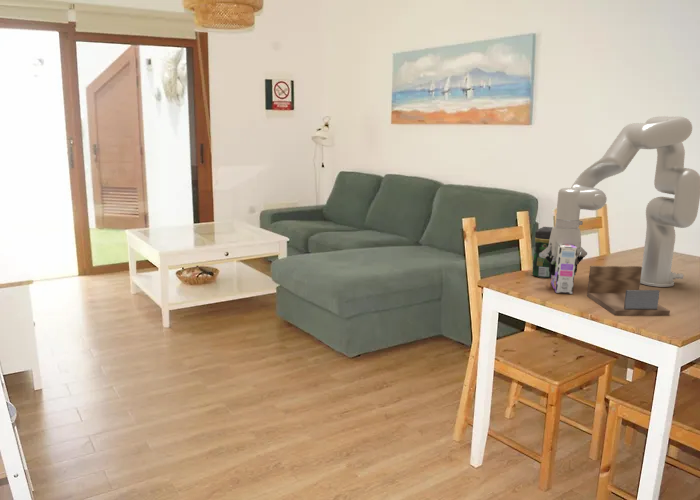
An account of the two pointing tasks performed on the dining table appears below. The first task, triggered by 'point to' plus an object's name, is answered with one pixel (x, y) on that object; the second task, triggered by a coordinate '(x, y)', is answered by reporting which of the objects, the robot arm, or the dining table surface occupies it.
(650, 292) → the grey flat slab
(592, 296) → the wooden shelf
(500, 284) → the dining table surface
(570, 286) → the candy box
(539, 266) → the coffee jar
